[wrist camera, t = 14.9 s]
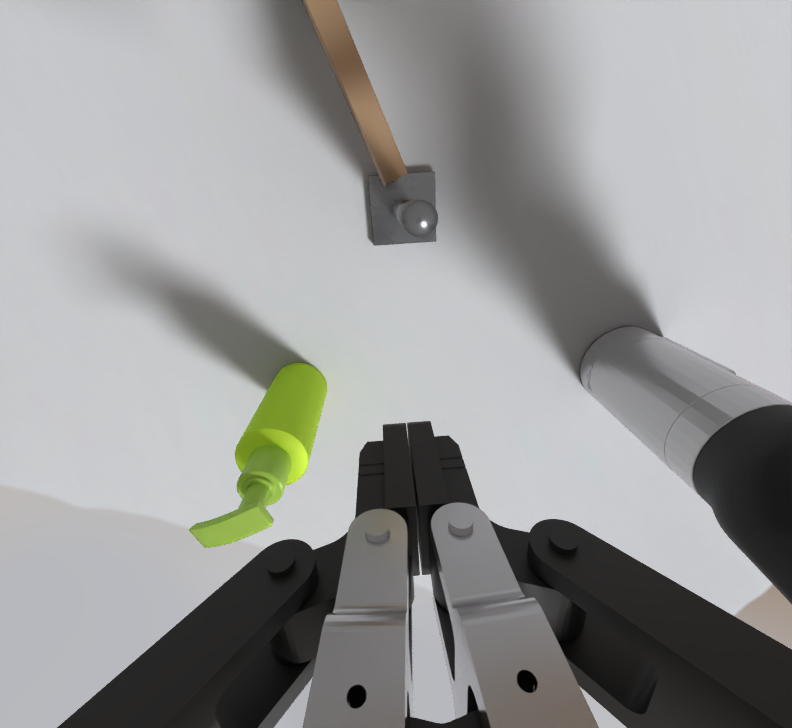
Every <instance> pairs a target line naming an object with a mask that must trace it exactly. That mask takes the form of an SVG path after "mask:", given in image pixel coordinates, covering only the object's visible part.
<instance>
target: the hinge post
mask: <svg viewBox="0 0 792 728" xmlns="http://www.w3.org/2000/svg"><path fill="white" fill-rule="evenodd" d="M368 179H369V192H370V204H371V217H372V229H373V242H374V246H375V245H389V244H404V243H419V242H433V241H436V225H437V222H438V214H437V211H436V209H435V172H424V173H408V174H406V175H404V176H403V177H401V178H400V179H398V180H396V181H394V182H392V183H390V184H388V185H386V186H385V187H384V185H383V183H382V181H381V179H380V176H379V175H377V176H368Z"/></svg>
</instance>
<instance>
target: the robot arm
mask: <svg viewBox="0 0 792 728" xmlns="http://www.w3.org/2000/svg"><path fill="white" fill-rule="evenodd" d="M580 376H581V381H582V384H583V386H584V388H585V389H586V390H587V391H588V392H589V393H590V394H591V395H592V396H593V397H594V398H595V399H596V400H597V401H598V402H599V403H600V404H602V405H603V406H604V407H605V408H606V409H607V410H608V411H609V412H610V413H611V414H612V415H613V416H614V417H615V418H616V419H617V420H619V421H620V422H621V423H622V424H623V425H624V426H625V427H626V428H627V429H628V430H629V431H630V432H631V433H633V434H634V435H635V436H636V437H637V438H638V439H639V440H640V441H641V442H642V443H643V444H644V445H645V446H647V447H648V448H649V449H650V450H651V451H652V452H653V453H654V454H655V455H656V456H657V457H658V458H659V459H661V460H662V461H663V462H664V463H665V464H666V465H667V466H668V467H669V468H670V469H671V470H673V471H674V472H675V473H676V474H677V475H678V476H679V477H680V478H681V479H682V480H683V481H684V482H685V483H687V484H688V485H689V486H690V487H691V488H692V489H693V490H694V491H695V492H696V493H697V494H698V495H700V496H701V497H702V498H703V499H704V500H705V501H706V502H707V503H708V504H709V505H710V506H711V507H712V509H713V512H714V514H715V517H716V519H717V521H718V523H719V524H720V526H721V528H722V529H723V530H724V532H725V533H726V534H727V535H728V537H729V538H730V539H731V540H732V541H733V542H734V543H735V544H736V545H737V547H738V548H739V549H740V550H741V551H742V552H743V553H744V554H745V555H746V556H747V557H748V558H749V559H750V560H751V561H752V562H753V563H754V564H755V565H756V567H757V568H758V569H759V570H760V571H761V572H762V573H763V574H764V575H765V576H766V577H767V578H768V579H769V580H770V581H771V582H772V584H773V585H774V586H775V587H776V588H777V589H778V590H779V591H780V592H781V593H782V594H783V595H784V596H785V597H786V598H787V600H788V601H789V602H790V603H791V604H792V403H791V402H789V401H787V400H785V399H783V398H781V397H779V396H777V395H775V394H773V393H771V392H769V391H767V390H765V389H763V388H761V387H759V386H757V385H755V384H753V383H751V382H749V381H747V380H745V379H743V378H741V377H739V376H737V375H736V373H735V372H734V371H733V370H731V369H729V368H727V367H725V366H723V365H721V364H719V363H717V362H715V361H713V360H711V359H709V358H706V357H704V356H702V355H700V354H698V353H696V352H694V351H692V350H690V349H688V348H686V347H684V346H682V345H680V344H678V343H676V342H674V341H672V340H670V339H668V338H666V337H659V336H657V335H655V334H653V333H651V332H649V331H647V330H645V329H642V328H639V327H622V328H618V329H615V330H612V331H610V332H608V333H606V334H604V335H603V336H602V337H600V338H599V339H597V340H596V341H595V342H594V343H593V344H592V345H591V347H590V348H589V349H588V351H587V352H586V354H585V356H584V358H583V360H582V364H581V368H580ZM407 427H408V438H407V430H406V423H399V424H386V425H383V441H374V442H367V443H366V444H365V446H364V447H363V449H362V450H361V452H360V457H359V472H358V487H357V502H356V516H355V519H354V520H353V522H352V523H351V525H350V527H349V530H348V532H347V533H346V534H345V535H344V536H343V537H341V538H340V539H338V540H337V541H335V542H333V543H331V544H328V545H325V546H323V547H320V548H317V549H315V550H312V548H311V547H310V546H309V545H308V544H307V543H305V542H303V541H300V540H295V539H288V540H282V541H279V542H276V543H274V544H272V545H270V546H268V547H267V548H265V549H264V550H263V551H262V552H260V553H259V554H258V555H257V556H256V557H255V558H253V559H252V560H251V561H250V562H249V563H248V564H247V565H245V566H244V567H243V568H242V569H241V570H240V571H239V572H237V573H236V574H235V575H234V576H233V577H231V578H230V579H229V580H228V581H227V582H226V583H224V584H223V585H222V586H221V587H220V588H219V589H218V590H216V591H215V592H214V593H213V594H212V595H211V596H210V597H208V598H207V599H206V600H205V601H204V602H203V603H201V604H200V605H199V606H198V607H197V608H196V609H194V610H193V611H192V612H191V613H190V614H189V615H187V616H186V617H185V618H184V619H183V620H182V621H181V622H179V623H178V624H177V625H176V626H175V627H174V628H172V629H171V630H170V631H169V632H168V633H166V635H164V636H163V637H162V638H161V639H160V640H159V641H157V642H156V643H155V644H154V645H153V646H152V647H150V648H149V649H148V650H147V651H146V652H144V653H143V654H142V655H141V656H140V657H139V658H138V659H136V660H135V661H134V662H133V663H132V664H131V665H129V666H128V667H127V668H126V669H125V670H124V671H122V672H121V673H120V674H119V675H118V676H117V677H115V678H114V679H113V680H112V681H111V682H110V683H108V684H107V685H106V686H105V687H104V688H103V689H102V690H101V691H99V692H98V693H97V694H96V695H95V696H93V697H92V698H91V699H90V700H89V701H88V702H86V703H85V704H84V705H83V706H82V707H81V708H79V709H78V710H77V711H76V712H75V713H74V714H73V715H71V716H70V717H69V718H68V719H67V720H66V721H65V722H63V723H62V724H61V725H60V726H59V727H57V728H274V726H275V725H276V724H277V722H278V721H279V720H280V719H281V717H282V716H283V715H284V713H285V712H286V711H287V709H288V708H289V707H290V706H291V704H292V703H293V702H294V700H295V699H296V698H297V696H298V695H299V694H300V693H301V691H302V690H303V689H304V687H305V686H306V685H307V684H308V682H309V681H310V680H311V678H312V677H313V678H312V683H311V688H310V693H309V698H308V703H307V708H306V714H305V719H304V723H303V728H599V727H598V725H597V722H596V720H595V718H594V716H593V714H592V712H591V710H590V708H589V706H588V704H587V702H586V700H585V698H584V695H583V693H582V691H581V689H580V687H581V688H582V689H584V690H585V691H586V692H587V693H588V694H589V695H591V696H592V697H593V698H594V699H595V700H596V701H597V702H598V703H600V704H601V705H602V706H603V707H604V708H605V709H607V710H608V711H609V712H610V713H611V714H612V715H613V716H615V717H616V718H617V719H618V720H619V721H620V722H621V723H622V724H624V725H625V726H626V727H627V728H792V650H791V649H790V648H788V647H786V646H785V645H783V644H781V643H779V642H778V641H776V640H774V639H772V638H771V637H769V636H767V635H765V634H764V633H762V632H760V631H759V630H757V629H755V628H753V627H752V626H750V625H748V624H746V623H745V622H743V621H741V620H739V619H737V618H736V617H734V616H733V615H731V614H729V613H727V612H726V611H724V610H722V609H721V608H719V607H717V606H715V605H714V604H712V603H710V602H708V601H707V600H705V599H703V598H702V597H700V596H698V595H696V594H695V593H693V592H691V591H689V590H688V589H686V588H684V587H683V586H681V585H679V584H677V583H676V582H674V581H672V580H670V579H669V578H667V577H665V576H664V575H662V574H660V573H658V572H657V571H655V570H653V569H651V568H650V567H648V566H646V565H644V564H643V563H641V562H639V561H638V560H636V559H634V558H632V557H631V556H629V555H627V554H625V553H624V552H622V551H620V550H619V549H617V548H615V547H613V546H612V545H610V544H608V543H606V542H605V541H603V540H601V539H600V538H598V537H596V536H594V535H593V534H591V533H589V532H587V531H586V530H584V529H582V528H581V527H579V526H577V525H575V524H573V523H570V522H568V521H564V520H558V519H548V520H543V521H540V522H538V523H537V524H535V525H534V526H533V528H532V529H531V531H530V533H529V532H524V531H518V530H513V529H508V528H505V527H502V526H499V525H497V524H495V523H494V522H492V521H490V520H489V518H488V516H487V515H486V514H485V513H484V512H483V511H482V510H481V509H479V506H478V504H477V500H476V497H475V494H474V491H473V488H472V485H471V482H470V479H469V476H468V473H467V470H466V468H465V464H464V461H463V459H462V455H461V452H460V448H459V445H458V444H457V443H456V442H455V441H454V440H453V439H451V438H450V437H449V436H437V437H434V434H433V430H432V426H431V422H430V421H424V422H411V423H407ZM408 445H409V446H408ZM418 544H419V552H420V560H421V569H422V575H427V574H431V579H432V586H433V603H434V609H435V614H436V619H437V623H438V628H439V632H440V637H441V642H442V647H443V651H444V656H445V660H446V665H447V670H448V674H449V679H450V684H451V688H452V694H453V699H454V708H455V716H456V719H455V720H453V721H451V722H448V723H444V724H440V723H434V722H430V721H426V720H422V719H418V718H414V699H413V617H412V616H413V613H412V612H413V610H412V603H413V600H414V582H413V576H417V575H420V572H419V553H418ZM579 686H580V687H579Z"/></svg>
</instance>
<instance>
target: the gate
mask: <svg viewBox="0 0 792 728" xmlns="http://www.w3.org/2000/svg"><path fill="white" fill-rule="evenodd" d="M302 1H303V4H304V6H305V8H306V11H307V13H308V15H309V17H310V20H311V22H312V24H313V26H314V29H315V31H316V33H317V36H318V38H319V40H320V42H321V45H322V47H323V49H324V51H325V54H326V56H327V58H328V60H329V63H330V65H331V67H332V70H333V72H334V74H335V76H336V79H337V81H338V83H339V85H340V88H341V90H342V92H343V95H344V97H345V99H346V101H347V104H348V106H349V108H350V110H351V113H352V115H353V117H354V120H355V122H356V124H357V126H358V129H359V131H360V133H361V135H362V138H363V140H364V142H365V144H366V147H367V149H368V151H369V154H370V156H371V158H372V160H373V163H374V165H375V167H376V169H377V172H378V174H379V176H380V179H381V181H382V183H383V185H384V187H385V186H386V185H388V184H390V183H392V182H394V181H396V180H398V179H400V178H401V177H403V176H404V175H406V174H407V170H406V168H405V165H404V163H403V160H402V158H401V156H400V153H399V151H398V148H397V146H396V143H395V141H394V139H393V136H392V134H391V131H390V129H389V126H388V124H387V121H386V119H385V117H384V114H383V112H382V109H381V107H380V104H379V102H378V100H377V97H376V95H375V92H374V90H373V87H372V85H371V83H370V80H369V78H368V75H367V73H366V70H365V68H364V66H363V63H362V61H361V58H360V56H359V53H358V51H357V49H356V46H355V44H354V41H353V39H352V36H351V34H350V32H349V29H348V27H347V24H346V22H345V19H344V17H343V15H342V12H341V10H340V7H339V5H338V2H337V0H302Z"/></svg>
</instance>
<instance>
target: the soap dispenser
mask: <svg viewBox="0 0 792 728" xmlns="http://www.w3.org/2000/svg"><path fill="white" fill-rule="evenodd" d="M326 392H327V383H326V380H325V378H324V376H323V375H322V373H321V372H320V371H319V370H318V369H316V368H315V367H313V366H311V365H309V364H305V363H293V364H289V365H287V366H285V367H283V368H282V369H281V370H280V371H279V372H278V373H277V375H276V377H275V379H274V380H273V382H272V384H271V386H270V388H269V389H268V391H267V393H266V395H265V397H264V398H263V400H262V402H261V404H260V405H259V407H258V409H257V411H256V413H255V414H254V416H253V418H252V420H251V421H250V423H249V425H248V427H247V429H246V430H245V432H244V434H243V436H242V437H241V439H240V441H239V443H238V445H237V447H236V451H235V459H236V463H237V465H238V467H239V469H240V471H241V472H242V473H241V475H240V477H239V479H238V482H237V491H238V493H239V495H240V496H241V498H242V501H241V504H240V506H239V508H238V509H237V510H235V511H233V512H230V513H228V514H225V515H223V516H220V517H218V518H215V519H212V520H209V521H205V522H201V523H197V524H195V525H194V526H192V527H191V528H190V529H189V531H190V532H191V533H192V534H193V535H194V536H195V538H196V539H197V540H198V541H199V542H200V543H201V544H202V545H203V546H204V547H205V548H209V547H216V546H221V545H225V544H229V543H232V542H235V541H238V540H241V539H243V538H246V537H248V536H250V535H253V534H255V533H257V532H259V531H262V530H264V529H266V528H268V527H271V526H272V523H273V520H274V519H273V518H272V517H271V515H270V514H269V513H268V511H267V510H266V509H265V508H266V506H268V505H271V504H274V503H275V502H277V501H278V500H279V499H280V498H281V496H282V494H283V491H284V488H285V486H286V485H289V484H292V483H294V482H295V481H297V480H298V479H300V478H301V477H302V476H303V474H304V473H305V471H306V469H307V466H308V462H309V458H310V455H311V451H312V447H313V443H314V439H315V435H316V431H317V427H318V423H319V420H320V416H321V412H322V408H323V404H324V400H325V396H326Z"/></svg>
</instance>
